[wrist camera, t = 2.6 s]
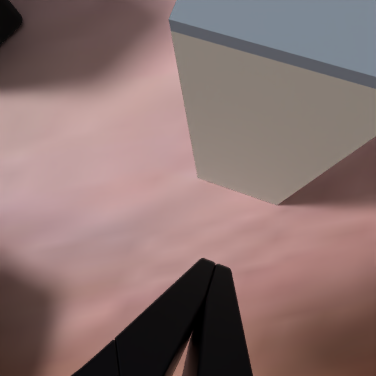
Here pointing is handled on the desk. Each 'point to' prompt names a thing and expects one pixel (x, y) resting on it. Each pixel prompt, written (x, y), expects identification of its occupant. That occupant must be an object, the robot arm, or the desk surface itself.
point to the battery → (8, 19)
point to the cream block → (275, 88)
